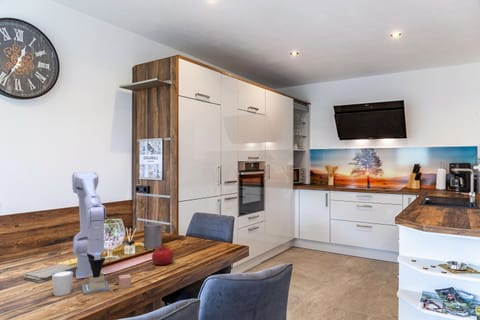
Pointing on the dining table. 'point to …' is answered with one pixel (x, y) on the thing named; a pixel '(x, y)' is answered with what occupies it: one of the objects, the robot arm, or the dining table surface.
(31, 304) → the dining table surface
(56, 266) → the washcloth
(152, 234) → the pillar candle
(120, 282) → the top block
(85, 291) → the base plate
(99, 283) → the base block
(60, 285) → the grey cylinder
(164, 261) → the pomegranate
